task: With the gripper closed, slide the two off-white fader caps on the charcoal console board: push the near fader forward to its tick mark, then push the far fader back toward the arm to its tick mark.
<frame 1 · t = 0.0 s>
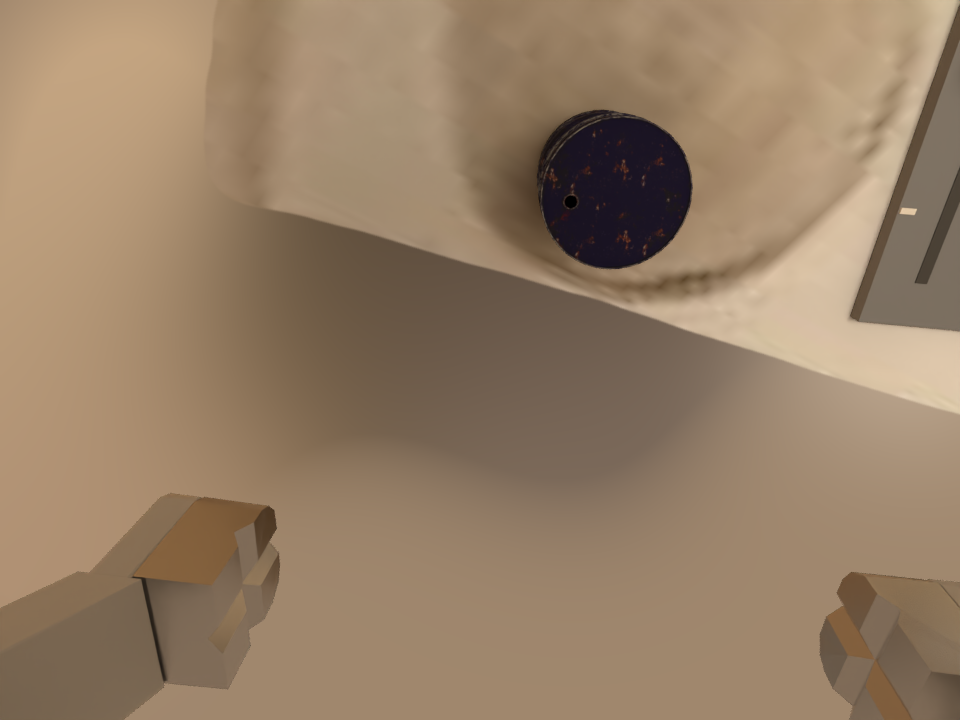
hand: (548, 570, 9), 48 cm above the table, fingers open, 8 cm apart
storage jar: (593, 169, 52), on the table
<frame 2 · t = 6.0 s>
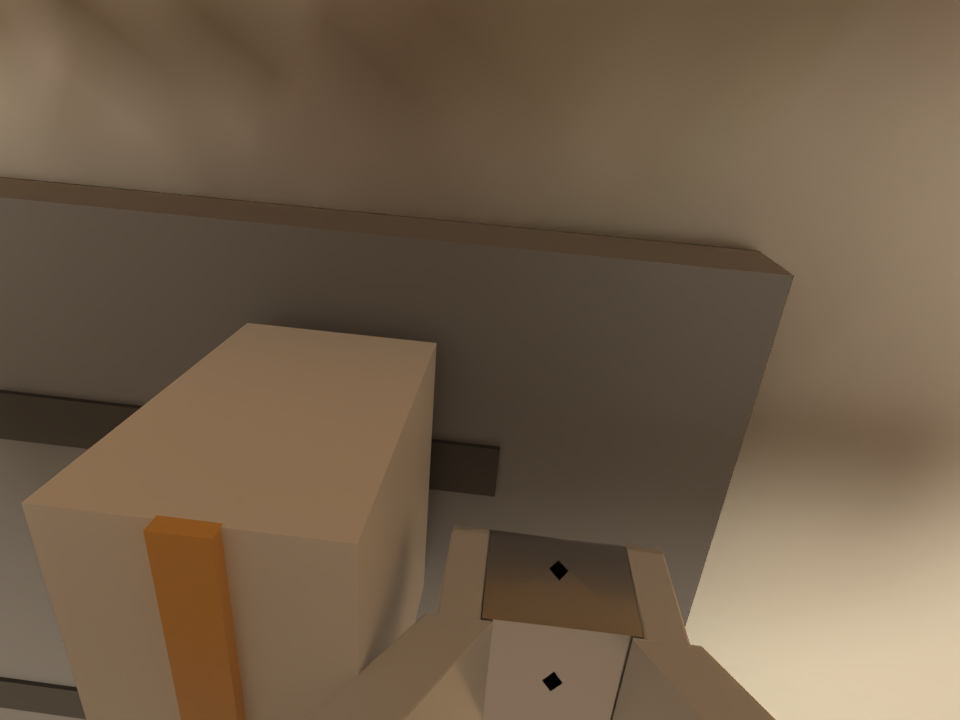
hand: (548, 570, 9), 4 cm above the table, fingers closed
console: (64, 525, 14), on the table
fader a: (294, 562, 8), point 4 cm above the table, slide at 2.7 cm, touching gripper
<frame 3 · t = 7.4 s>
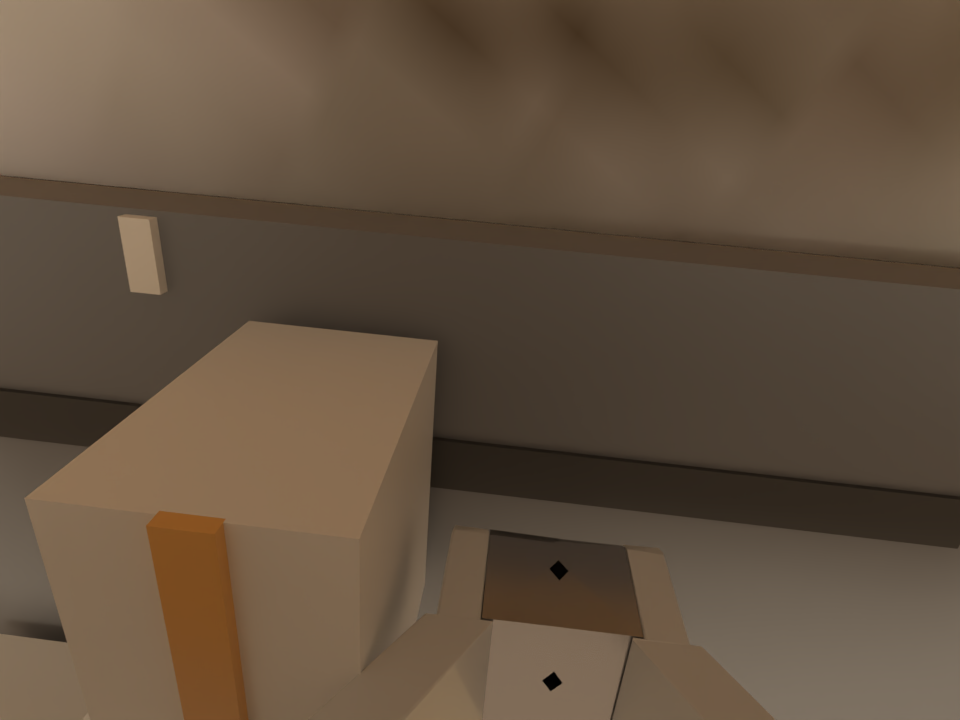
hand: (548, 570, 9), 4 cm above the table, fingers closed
console: (403, 565, 14), on the table
fader a: (296, 559, 8), point 4 cm above the table, slide at 10.7 cm, touching gripper
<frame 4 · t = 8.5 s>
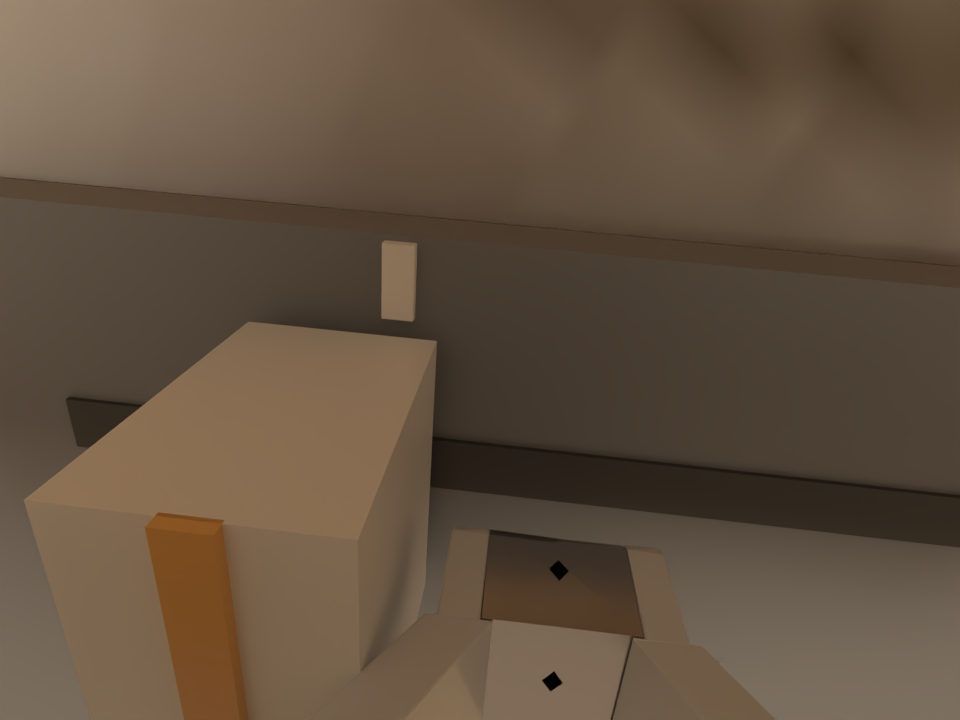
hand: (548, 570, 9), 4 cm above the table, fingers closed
console: (581, 586, 13), on the table
fader a: (295, 560, 8), point 4 cm above the table, slide at 14.8 cm, touching gripper
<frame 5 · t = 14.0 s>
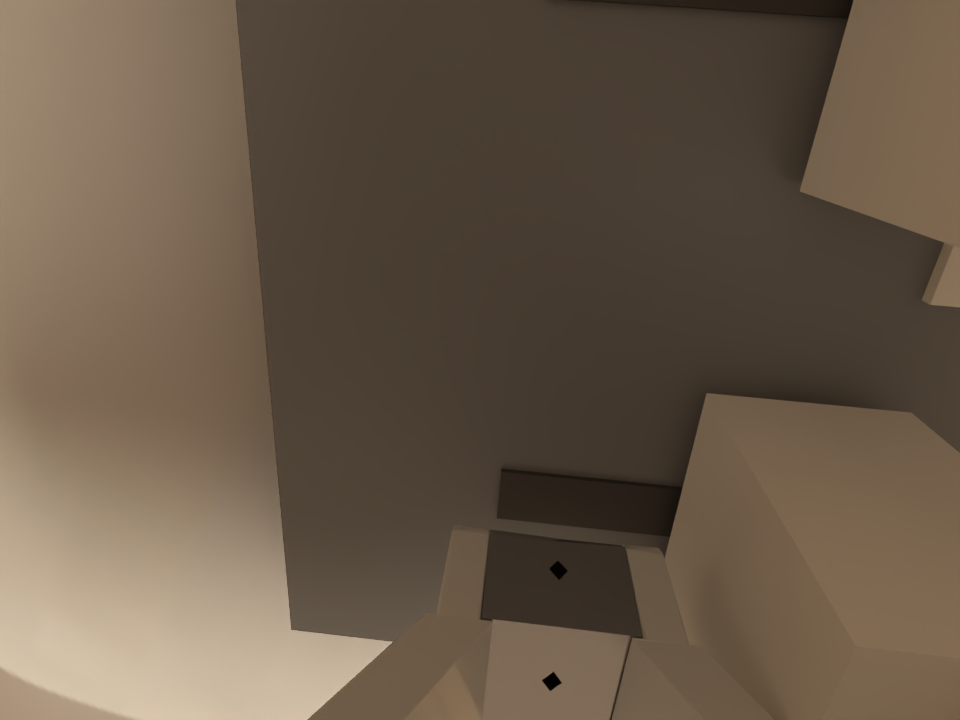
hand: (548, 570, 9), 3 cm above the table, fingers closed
fader b: (827, 654, 8), point 4 cm above the table, slide at 4.5 cm, touching gripper
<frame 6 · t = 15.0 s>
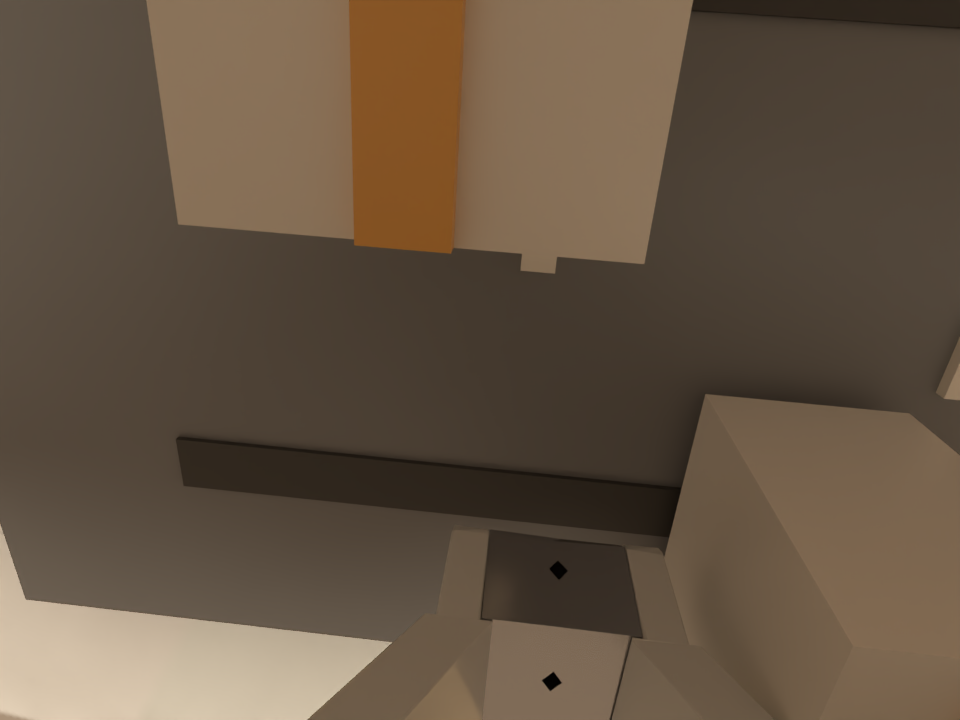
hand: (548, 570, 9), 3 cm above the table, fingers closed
console: (772, 271, 10), on the table
fader b: (825, 654, 8), point 4 cm above the table, slide at 10.2 cm, touching gripper
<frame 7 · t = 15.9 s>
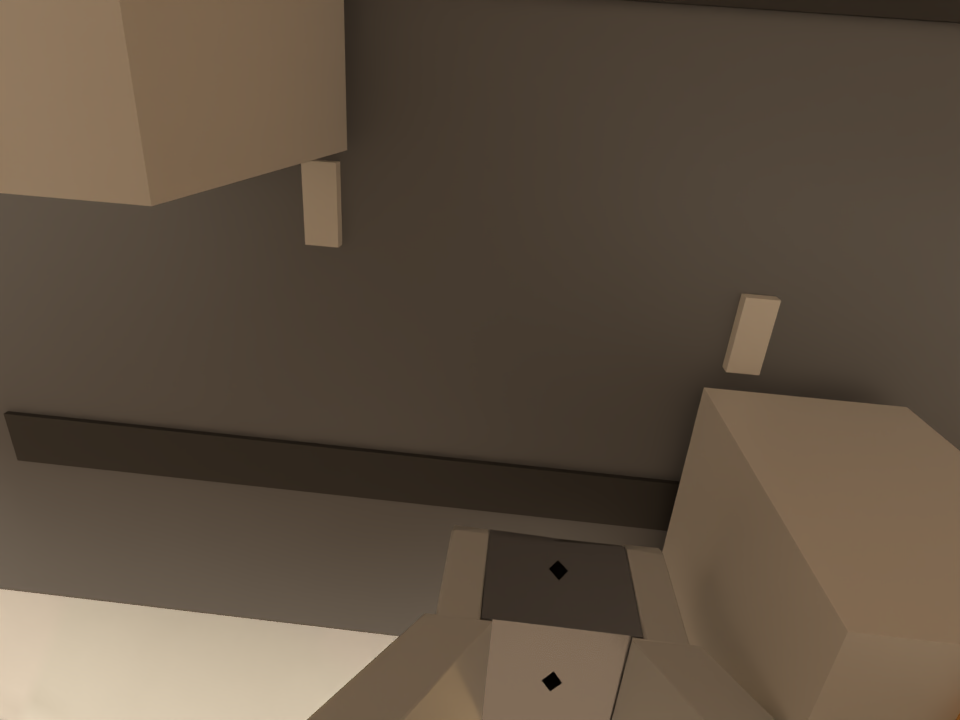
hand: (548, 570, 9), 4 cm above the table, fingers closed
console: (582, 249, 10), on the table
fader b: (822, 645, 8), point 4 cm above the table, slide at 13.4 cm, touching gripper
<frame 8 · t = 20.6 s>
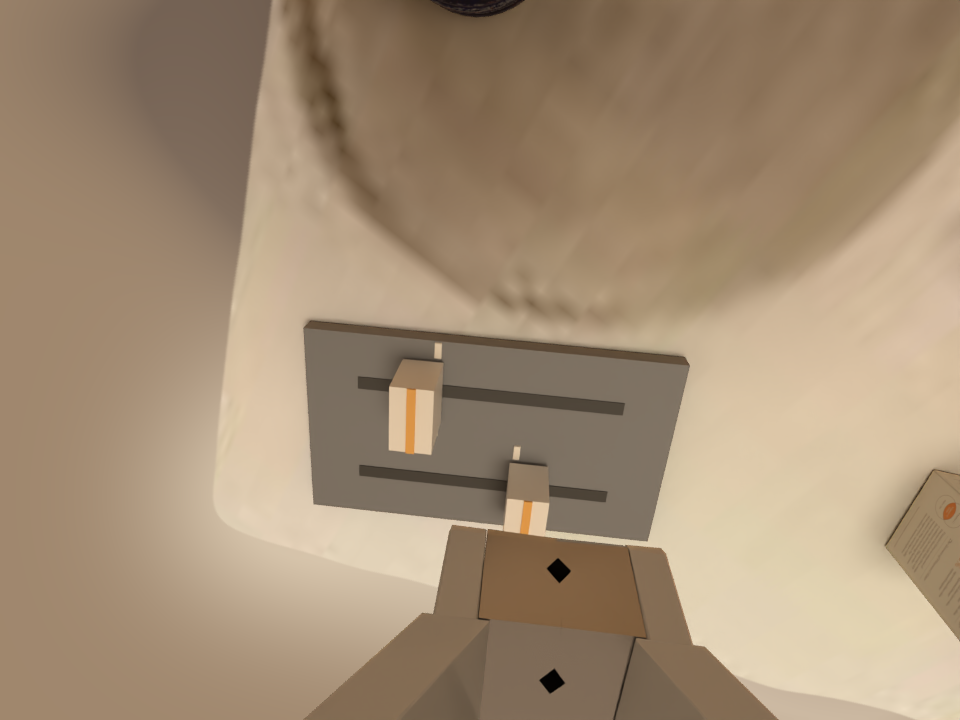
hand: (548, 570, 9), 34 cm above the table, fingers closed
console: (486, 430, 47), on the table
fader b: (525, 509, 45), point 4 cm above the table, slide at 13.5 cm
small box: (944, 514, 47), on the table
fader a: (416, 406, 42), point 4 cm above the table, slide at 15.0 cm
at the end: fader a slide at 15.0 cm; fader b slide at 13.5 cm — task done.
